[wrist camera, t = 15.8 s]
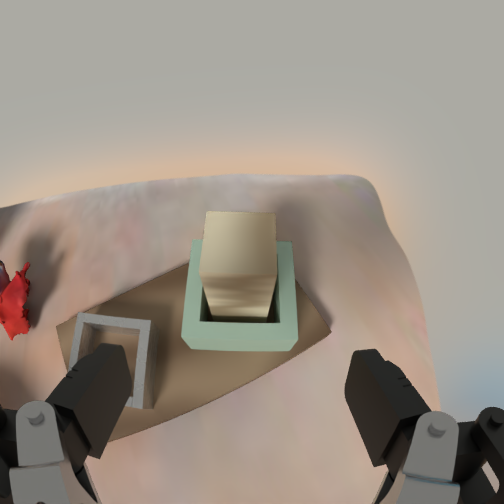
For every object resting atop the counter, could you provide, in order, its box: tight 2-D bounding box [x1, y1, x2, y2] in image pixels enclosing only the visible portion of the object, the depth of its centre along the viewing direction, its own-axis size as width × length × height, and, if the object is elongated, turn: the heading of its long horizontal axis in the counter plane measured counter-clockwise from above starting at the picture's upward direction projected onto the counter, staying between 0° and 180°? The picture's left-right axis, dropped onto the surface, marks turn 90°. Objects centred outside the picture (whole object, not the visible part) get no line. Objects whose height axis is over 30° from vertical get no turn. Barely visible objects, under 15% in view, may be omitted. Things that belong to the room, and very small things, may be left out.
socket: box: [181, 240, 298, 351], centre depth 22 cm, size 8×8×4 cm
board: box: [56, 263, 332, 442], centre depth 23 cm, size 12×23×2 cm, turn 120°
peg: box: [199, 211, 277, 323], centre depth 20 cm, size 4×4×10 cm
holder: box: [68, 312, 160, 410], centre depth 19 cm, size 7×7×2 cm
